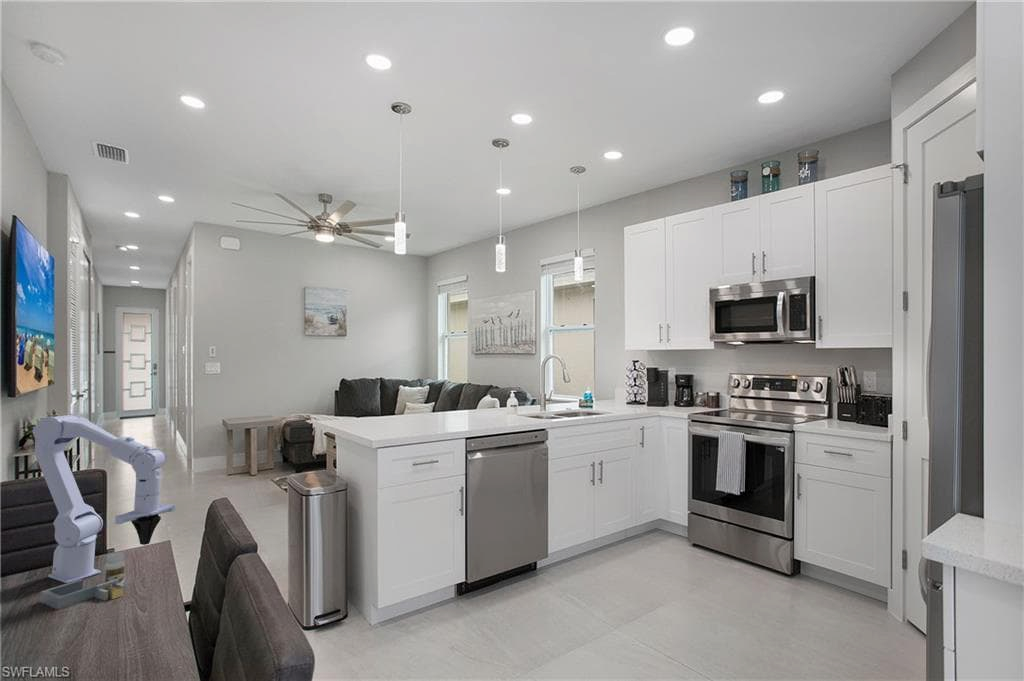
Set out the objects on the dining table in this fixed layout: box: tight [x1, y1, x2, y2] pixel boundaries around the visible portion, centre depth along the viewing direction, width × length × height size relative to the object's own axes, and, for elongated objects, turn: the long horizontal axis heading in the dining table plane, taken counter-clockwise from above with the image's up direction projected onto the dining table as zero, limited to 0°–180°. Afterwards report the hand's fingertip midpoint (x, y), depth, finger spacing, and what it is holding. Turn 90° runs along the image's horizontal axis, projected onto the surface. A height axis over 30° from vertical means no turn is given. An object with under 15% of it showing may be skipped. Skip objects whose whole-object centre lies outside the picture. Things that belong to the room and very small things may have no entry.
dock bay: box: [39, 578, 126, 610], centre depth 125 cm, size 12×12×3 cm
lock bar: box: [102, 585, 124, 600], centre depth 127 cm, size 6×2×2 cm, turn 66°
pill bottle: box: [102, 551, 126, 586], centre depth 133 cm, size 4×4×8 cm
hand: (144, 543), depth 140 cm, fingers closed
